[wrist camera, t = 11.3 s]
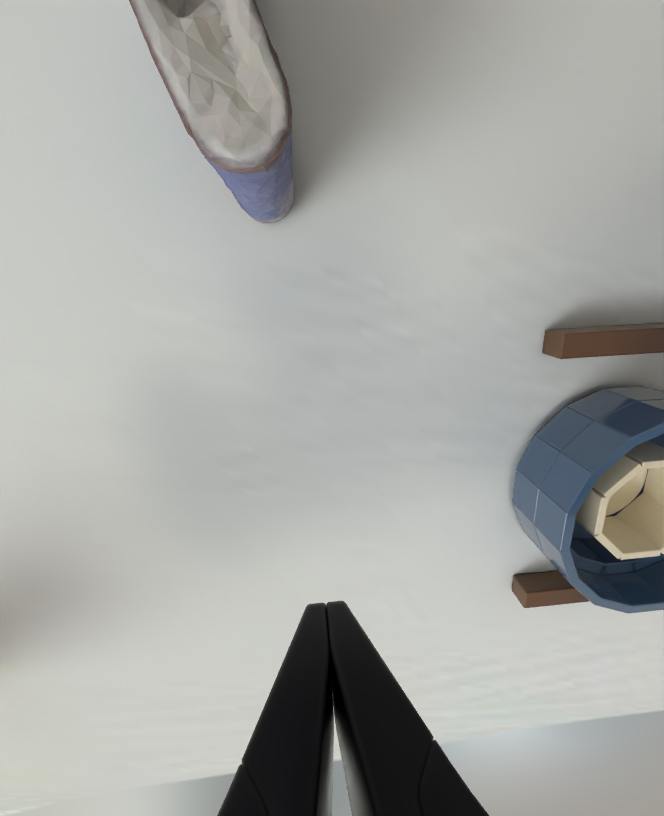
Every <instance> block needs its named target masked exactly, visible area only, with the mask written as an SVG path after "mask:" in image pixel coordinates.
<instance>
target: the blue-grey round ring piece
mask: <svg viewBox="0 0 664 816" xmlns="http://www.w3.org/2000/svg"><path fill="white" fill-rule="evenodd" d="M646 441H650V442H653V443H655V444H657V445H659V446H661V447H663V448H664V393H662V392H659V391H656V390H653V389H650V388H647V387H643V386H637V387H622V388H608V389H602V390H600V391H598V392H596V393H594V394H591V395H589V396H587V397H585V398H582V399H580V400H578V401H576V402H574V403H571V404H569V405H567V406H566V407H565V408H563V409H562V410H561V411H560V412H559V413H558V414H557V415H556V416H555V417H554V418H552V419H551V420H550V421H549V422H548V423H547V424H546V425H545V426H544V427H543V428H542V429H540V430H539V431H538V432H537V433H536V435H534V437H533V439H532V441H531V442H530V444H529V446H528V448H527V450H526V452H525V453H524V455H523V457H522V459H521V461H520V462H519V464H518V466H517V469H516V474H515V483H514V491H513V499H512V501H513V505H514V508H515V511H516V514H517V516H518V519H519V522H520V525H521V528H522V530H523V531H524V532H525V533H526V535H527V536H528V537H529V538H530V539H531V540H532V541H533V542H534V544H535V545H536V546H537V547H538V548H539V549H540V550H541V551H542V553H543V554H544V555H545V556H546V557H547V558H548V559H549V560H550V562H551V563H552V564H553V565H554V566H555V567H556V568H557V569H558V571H559V572H560V573H561V574H562V575H563V576H564V577H565V579H566V580H567V581H568V582H569V583H570V584H571V585H572V586H573V587H574V588H576V589H577V590H578V591H579V592H580V593H581V594H582V595H584V596H585V597H586V598H587V599H588V600H589V601H590V602H592V603H593V604H595V605H597V606H601V607H605V608H609V609H613V610H617V611H621V612H625V613H637V612H647V611H656V610H664V554H662V553H661V554H660V556H654V557H645V558H635V559H625V560H621V559H617V558H616V557H615V556H614V555H613V554H611V553H610V552H609V551H608V550H607V549H606V548H605V547H603V546H602V545H601V544H600V543H599V542H598V541H597V540H596V539H594V538H593V537H592V536H591V535H590V534H589V533H588V532H586V531H585V530H584V529H583V528H582V527H581V526H580V525H579V524H577V523H576V522H575V520H576V514H577V512H578V510H579V509H580V507H581V506H582V504H583V502H584V501H585V499H586V498H587V496H588V494H589V493H590V491H591V489H592V488H593V486H594V485H595V483H596V481H597V480H598V478H599V477H600V476H601V475H602V474H603V473H604V472H606V471H607V470H608V469H609V468H610V467H611V466H613V465H614V464H615V463H616V462H617V461H618V460H620V459H621V458H622V457H623V456H624V455H625V454H627V453H628V452H629V451H630V450H631V449H632V448H634V447H635V446H636V445H639V444H641V443H643V442H646ZM647 473H648V469H647ZM646 477H647V476H646ZM645 481H646V480H645ZM644 486H645V483H644V485H643V487H642V489H641V491H640V492H639V494H638V495H637V496H636V497H635V499H636V498H637V497H638V496H639V495H641V494H642V493H643V490H644ZM635 499H634V500H635ZM629 504H630V503H629ZM629 504H628V505H629ZM628 505H627V506H628ZM624 508H625V507H624ZM624 508H623V509H624ZM623 509H621V510H620V511H622V510H623ZM620 511H618V512H616V513H614V514H611V515H608V516H616V515H617V514H618V513H619V512H620ZM608 516H605V517H608Z"/></svg>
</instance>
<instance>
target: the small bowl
mask: <svg viewBox="0 0 664 816" xmlns="http://www.w3.org/2000/svg"><path fill="white" fill-rule="evenodd" d="M647 469H648V473H647ZM646 476H647V477H646ZM645 480H646V481H645ZM644 483H645V486H644V490H643V493H642V494H641V495H639V496H638V497H637V498H636V499H635V497H636V496H637V495H638V494H639V492H640V491H641V489H642V487H643V485H644ZM634 499H635V500H634ZM629 503H630V504H629ZM628 504H629V505H628ZM627 505H628V506H627ZM624 507H625V508H624ZM623 508H624V509H623ZM621 509H623V510H622V511H620V510H621ZM618 511H620V512H619V513H618V514H617V515H616V516H608V515H611V514H614V513H616V512H618ZM605 516H608V517H605ZM575 522H576V523H577V524H579V525H580V526H581V527H582V528H583V529H584V530H585V531H586V532H588V533H589V534H590V535H591V536H592V537H593V538H594V539H596V540H597V541H598V542H599V543H600V544H601V545H602V546H603V547H605V548H606V549H607V550H608V551H609V552H610V553H611V554H613V555H614V556H615V557H616V558H617V559H621V560H625V559H635V558H645V557H654V556H660V554H661V553H662V554H664V448H663V447H661V446H659V445H657V444H655V443H653V442H650V441H646V442H643V443H641V444H639V445H636V446H635V447H634V448H632V449H631V450H630V451H629V452H628V453H627V454H625V455H624V456H623V457H622V458H621V459H620V460H618V461H617V462H616V463H615V464H614V465H613V466H611V467H610V468H609V469H608V470H607V471H606V472H604V473H603V474H602V475H601V476H600V477H599V478H598V480H597V481H596V483H595V485H594V486H593V488H592V489H591V491H590V493H589V494H588V496H587V498H586V499H585V501H584V502H583V504H582V506H581V507H580V509H579V510H578V512H577V514H576V520H575Z"/></svg>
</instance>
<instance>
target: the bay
mask: <svg viewBox="0 0 664 816" xmlns="http://www.w3.org/2000/svg"><path fill="white" fill-rule="evenodd" d="M661 352H664V323H654V324H637V325H619V326H602V327H585V328H568V329H550V330H545V336H544V344H543V351H542V353H544V354H547V355H550V356H553V357H556V358H560V359H566V358H582V357H598V356H614V355H630V354H645V353H661ZM512 591H513V593H514V594H515V596H516V597H517V598H518V600H519V601H520V603H521V604H522V606H523V607H524V608H530V607H540V606H549V605H559V604H569V603H578V602H588V601H589V600H588V599H587V598H586V597H585V596H584V595H582V594H581V593H580V592H579V591H578V590H577V589H576V588H574V587H573V586H572V585H571V584H570V583H569V582H568V581H567V580H566V579H565V577H564V576H563V575H562V574H561V573H560V572H559V571H553V572H543V573H533V574H523V575H514V576H513V584H512Z"/></svg>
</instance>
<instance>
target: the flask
mask: <svg viewBox="0 0 664 816" xmlns="http://www.w3.org/2000/svg"><path fill="white" fill-rule="evenodd" d="M129 1H130V4H131V6H132V8H133V11H134V13H135V15H136V18H137V20H138V23H139V26H140V28H141V31H142V33H143V35H144V38H145V40H146V42H147V44H148V47H149V50H150V53H151V55H152V58H153V60H154V62H155V64H156V66H157V68H158V70H159V73H160V75H161V77H162V79H163V81H164V83H165V85H166V88H167V90H168V92H169V94H170V96H171V98H172V100H173V103H174V105H175V107H176V109H177V111H178V113H179V115H180V117H181V119H182V121H183V124H184V126H185V128H186V130H187V132H188V134H189V135H190V136H191V137H192V138H193V139H194V141H195V142H196V144H197V146H198V147H199V149H200V151H201V153H202V154H203V155H204V156H205V158H206V159H207V160H208V162H209V163H210V164H211V165H212V166H213V167H214V168H215V169H216V171H217V173H218V174H219V175H220V176H221V177H222V179H223V180H224V182H225V184H226V186H227V187H228V188H229V189H230V190H231V191H232V193H233V194H234V196H235V198H236V199H237V201H238V203H239V204H240V206H241V207H242V208H243V209H244V210H245V211H246V212H247V213H248V214H249V215H250V216H251V217H253V218H254V219H255V220H257V221H259V222H263V223H270V222H277V221H279V220H281V219H282V218H284V217H285V216H286V215H287V214H288V212H289V211H290V209H291V208H292V205H293V201H294V183H293V177H292V166H291V128H292V123H291V122H292V108H291V102H290V95H289V89H288V85H287V81H286V79H285V76H284V73H283V71H282V69H281V66H280V62H279V59H278V56H277V54H276V52H275V50H274V48H273V46H272V45H271V42H270V40H269V37H268V34H267V32H266V29H265V27H264V24H263V21H262V19H261V16H260V14H259V11H258V8H257V6H256V3H255V0H129Z"/></svg>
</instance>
